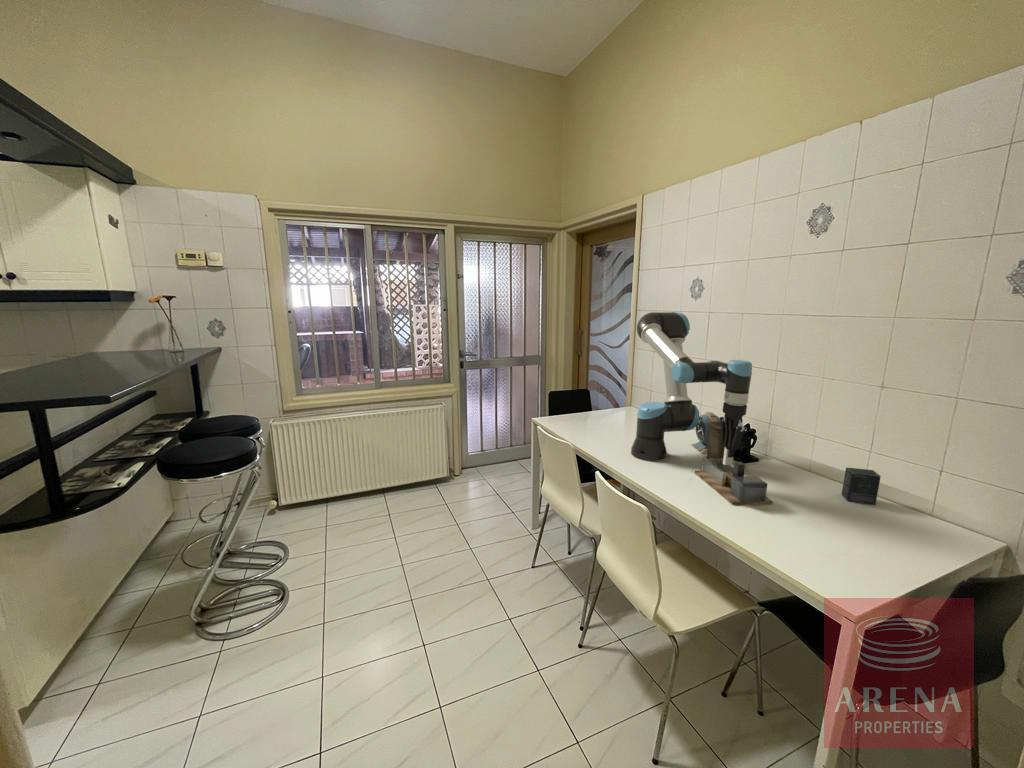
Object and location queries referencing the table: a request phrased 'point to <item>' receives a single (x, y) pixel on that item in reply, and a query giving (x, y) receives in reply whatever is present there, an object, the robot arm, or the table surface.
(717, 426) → the container
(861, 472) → the box
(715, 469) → the grey tilted block
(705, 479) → the board
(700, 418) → the alarm clock
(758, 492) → the socket
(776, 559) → the table surface
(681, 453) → the table surface
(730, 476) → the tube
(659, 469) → the table surface
